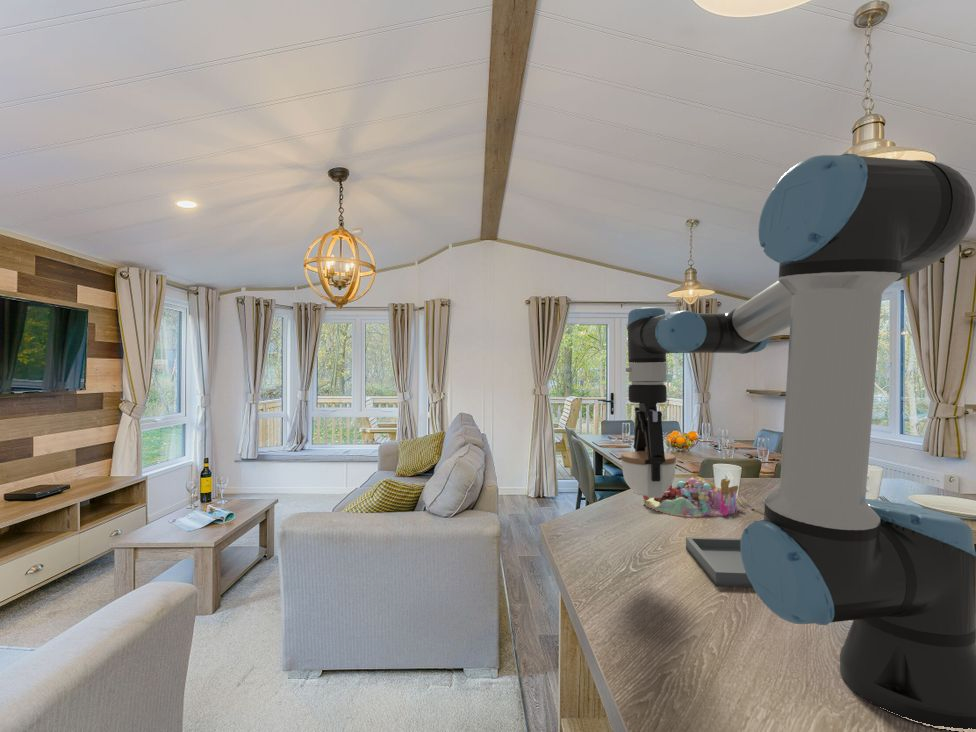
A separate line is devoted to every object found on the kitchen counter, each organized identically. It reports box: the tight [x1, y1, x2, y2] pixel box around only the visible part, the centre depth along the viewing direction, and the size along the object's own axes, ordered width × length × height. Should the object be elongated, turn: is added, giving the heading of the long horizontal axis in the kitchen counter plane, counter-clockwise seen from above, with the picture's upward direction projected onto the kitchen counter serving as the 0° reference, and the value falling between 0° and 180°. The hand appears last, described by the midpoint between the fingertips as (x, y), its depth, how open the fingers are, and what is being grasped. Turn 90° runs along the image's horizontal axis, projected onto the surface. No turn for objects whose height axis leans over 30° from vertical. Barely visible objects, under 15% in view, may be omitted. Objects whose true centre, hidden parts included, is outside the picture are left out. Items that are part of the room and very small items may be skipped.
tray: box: [685, 536, 753, 588], centre depth 104 cm, size 20×20×2 cm
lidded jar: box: [620, 447, 677, 497], centre depth 104 cm, size 11×11×9 cm
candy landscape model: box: [642, 476, 739, 519], centre depth 149 cm, size 25×24×9 cm
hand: (648, 490), depth 104 cm, fingers closed on lidded jar, 11 cm apart
